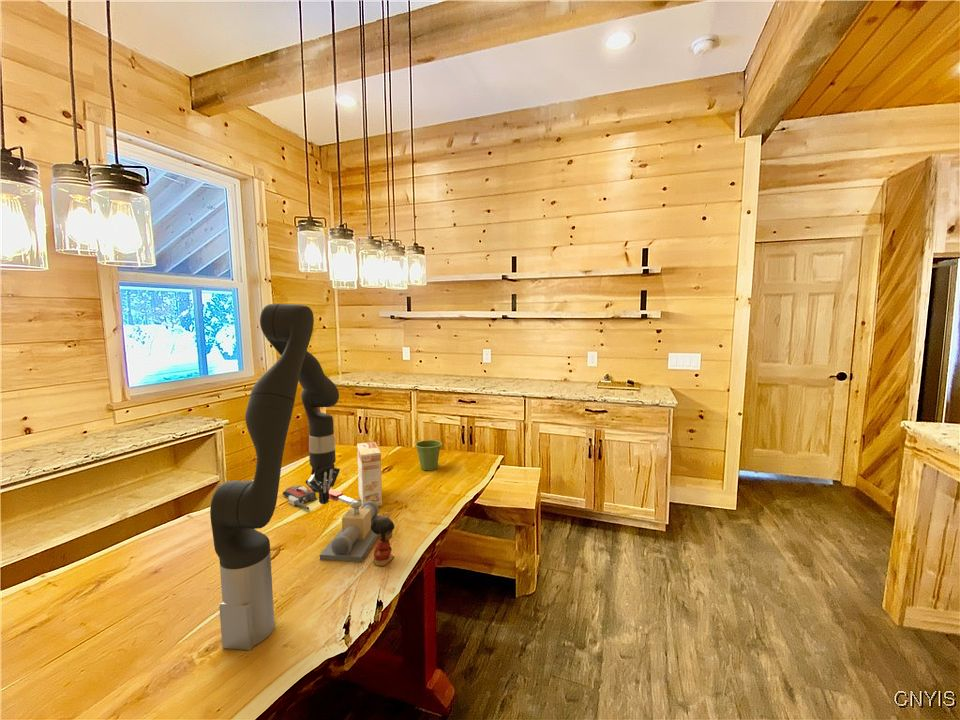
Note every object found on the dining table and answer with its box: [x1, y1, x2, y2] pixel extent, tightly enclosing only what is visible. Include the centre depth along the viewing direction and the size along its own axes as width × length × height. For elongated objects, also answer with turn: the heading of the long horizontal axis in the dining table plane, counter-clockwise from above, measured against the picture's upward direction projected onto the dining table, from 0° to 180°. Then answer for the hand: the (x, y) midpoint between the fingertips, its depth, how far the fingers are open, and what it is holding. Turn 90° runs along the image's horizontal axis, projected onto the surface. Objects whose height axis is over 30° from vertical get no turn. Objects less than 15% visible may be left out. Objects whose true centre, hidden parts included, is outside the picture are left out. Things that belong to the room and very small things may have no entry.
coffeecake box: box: [356, 441, 383, 507], centre depth 153 cm, size 15×7×20 cm, turn 22°
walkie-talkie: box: [282, 484, 317, 511], centre depth 152 cm, size 9×4×20 cm
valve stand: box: [319, 501, 390, 563], centre depth 126 cm, size 24×12×10 cm, turn 175°
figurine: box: [371, 517, 395, 567], centre depth 114 cm, size 6×6×12 cm
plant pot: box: [414, 439, 443, 471], centre depth 184 cm, size 12×12×11 cm
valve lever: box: [329, 488, 362, 508], centre depth 129 cm, size 16×3×2 cm, turn 56°
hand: (324, 503), depth 129 cm, fingers closed
